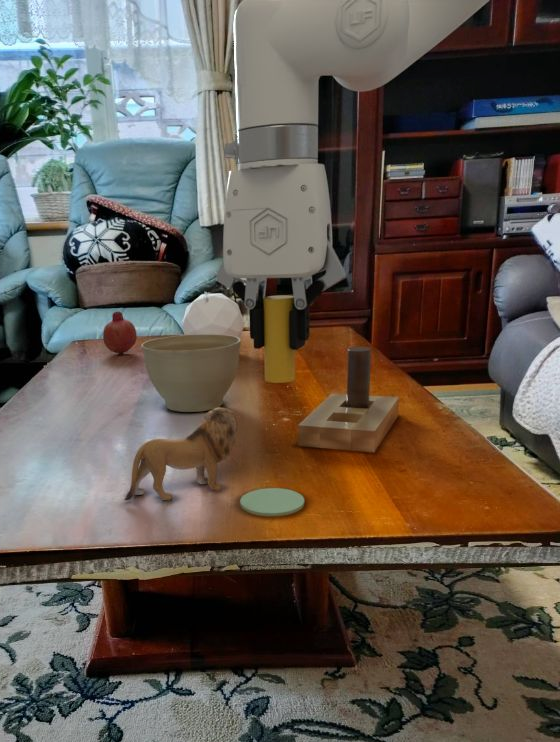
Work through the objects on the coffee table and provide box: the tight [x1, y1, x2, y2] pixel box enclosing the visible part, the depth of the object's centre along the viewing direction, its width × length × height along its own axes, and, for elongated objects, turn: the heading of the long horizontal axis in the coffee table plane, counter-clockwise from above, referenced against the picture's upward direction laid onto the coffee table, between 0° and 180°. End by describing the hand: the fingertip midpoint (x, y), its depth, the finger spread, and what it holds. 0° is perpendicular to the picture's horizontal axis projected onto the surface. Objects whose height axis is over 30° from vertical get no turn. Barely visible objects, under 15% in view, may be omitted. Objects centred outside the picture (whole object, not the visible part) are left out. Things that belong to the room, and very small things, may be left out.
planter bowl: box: [140, 334, 242, 413], centre depth 113 cm, size 16×16×11 cm
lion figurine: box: [123, 406, 238, 501], centre depth 78 cm, size 15×5×9 cm, turn 119°
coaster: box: [239, 487, 305, 517], centre depth 74 cm, size 7×7×1 cm
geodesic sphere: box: [181, 291, 245, 339], centre depth 153 cm, size 15×14×14 cm
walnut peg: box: [346, 346, 372, 409], centre depth 98 cm, size 3×3×11 cm
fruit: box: [102, 310, 137, 355], centre depth 161 cm, size 8×8×10 cm
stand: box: [297, 393, 400, 453], centre depth 97 cm, size 10×17×3 cm, turn 155°
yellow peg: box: [263, 294, 296, 384], centre depth 70 cm, size 3×3×8 cm
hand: (279, 345), depth 71 cm, fingers closed on yellow peg, 3 cm apart
